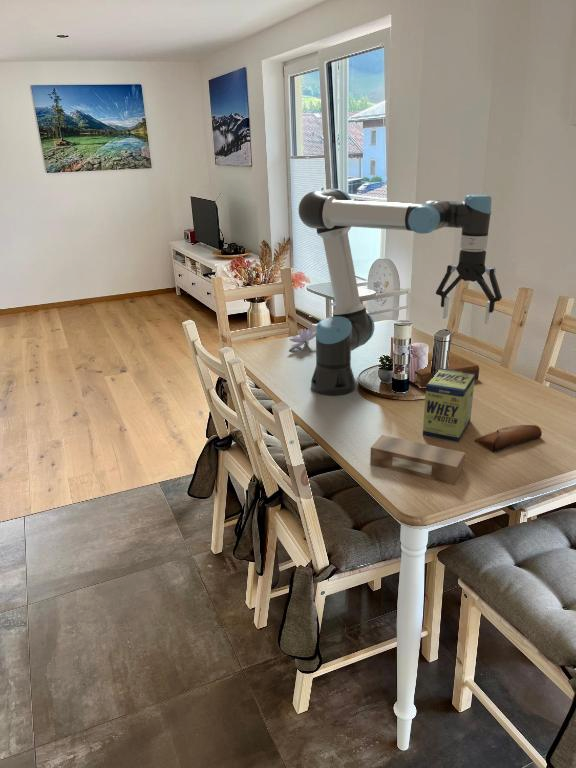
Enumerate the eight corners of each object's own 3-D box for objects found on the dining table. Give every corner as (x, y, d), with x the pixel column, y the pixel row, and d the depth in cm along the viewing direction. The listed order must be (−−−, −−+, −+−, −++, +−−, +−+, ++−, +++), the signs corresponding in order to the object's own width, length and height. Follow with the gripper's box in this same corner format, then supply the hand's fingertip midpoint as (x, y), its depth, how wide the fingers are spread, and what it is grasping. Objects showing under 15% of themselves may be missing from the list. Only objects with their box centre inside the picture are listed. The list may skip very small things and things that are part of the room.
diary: (421, 391, 199) (422, 375, 197) (393, 373, 216) (394, 358, 213) (478, 380, 206) (479, 365, 204) (447, 364, 223) (448, 349, 221)
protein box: (421, 435, 168) (425, 385, 162) (436, 414, 180) (440, 367, 174) (459, 443, 163) (464, 391, 157) (470, 421, 176) (476, 372, 170)
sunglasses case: (517, 426, 172) (529, 412, 167) (532, 445, 168) (545, 432, 163) (471, 441, 164) (483, 427, 159) (486, 461, 160) (498, 448, 155)
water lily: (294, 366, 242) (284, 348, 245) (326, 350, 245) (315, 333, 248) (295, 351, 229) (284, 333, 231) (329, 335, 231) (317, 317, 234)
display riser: (369, 464, 153) (370, 447, 151) (381, 451, 159) (381, 434, 157) (455, 485, 143) (456, 467, 141) (463, 470, 149) (465, 452, 147)
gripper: (429, 248, 177) (423, 318, 185) (513, 254, 166) (504, 328, 174) (436, 244, 183) (430, 312, 191) (518, 250, 172) (508, 321, 180)
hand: (465, 320), depth 183 cm, fingers open, 12 cm apart
